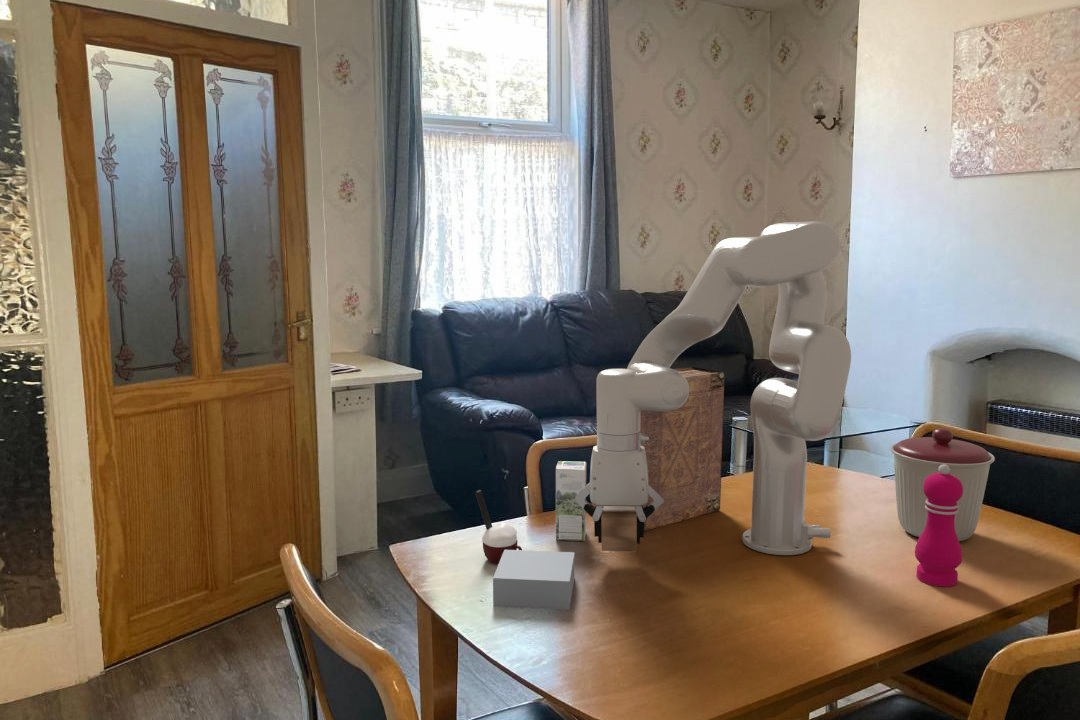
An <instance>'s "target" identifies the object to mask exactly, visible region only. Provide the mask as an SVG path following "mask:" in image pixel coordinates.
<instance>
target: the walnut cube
mask: <svg viewBox="0 0 1080 720" xmlns="http://www.w3.org/2000/svg"><path fill="white" fill-rule="evenodd" d="M601 528H602V542H601V551H603V552H637V551H638V549H637V548H638V547H637V545H638V544H637V514H636V511H635V508H634V506H604V508H603V511H602V516H601Z"/></svg>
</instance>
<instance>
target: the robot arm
mask: <svg viewBox="0 0 1080 720" xmlns="http://www.w3.org/2000/svg"><path fill="white" fill-rule="evenodd" d="M840 251H841V239H840V236H839V234H838V232H837V230H836V229H835V228H834V227H833V226H832V225H830V224H828V223H827V222H823V221H815V220H813V221H811V220H810V221H788V222H787V221H785V222H778V223H774V224H771V225H768V226H767V227H766V228H764V229H763V231H761V233H760V235H759V236H734V237H733V236H732V237H728V238H725V239H722V240H721V241H720V242H718V243H717V244H716V246H714V248H713V249H712V250H711V252H710V254H709V256H708V257H707V259H706V260H705V262H704V264H703V265H702V267H701V268H700V271H699V273H697V275H696V277H695V279H694V281H693V283H692V284H691V285H690V287H689V288H688V290H687V292H686V293H685V296H684V297H683V299H682V300H681V301H680V303H679V304H678V306H677V307H676V308H675V309H674V310H672V312H670V313H669V314H667V316H665V318H664V319H662V321H661V322H659V324H657V325H656V326H655V327H654V328H653V329H652V330H651V331H650V332H649V333H648V334H647V335H646V337H645V338H644V339H643V340H642V342H641V343H640V344H639V346H638V348H637V350H636V351H635V353H634V354H633V356H632V358H631V360H630V361H629V363H628V365H627V368H608V369H605V370H601V371H600V372H599V373H598V374H597V377H596V387H595V388H596V392H595V393H596V445H595V446H593V448H592V452H591V456H590V457H591V458H590V467H589V468H590V471H589V482H588V483H586V486H585V487H584V488H583V489H582V490H581V491H580V492H579V493H578V494H577V495H576V497H575V501H576V502H577V503H578V504H579V505H580V506H581V507H582V508H583V509H584V510H585V511H586V514H588V516H590V517H591V519H592V520H593V521H594V523H593V525H594V529H593V530H594V531H593V532H594V533H593V535H594V537H595V538H597V537H598V538H597V539H598V540H597V542H598V544H602V528H601V513H602V511H603V508H604V506H634V508H635V511H636V513H637V545H640V544H641V538H645V531H644V521H645V520H646V518H648V517H649V516H650V515H651V514H652V513H653V512H654V510H655V509H656V508H658V507H659V506H660V505H661V504H662V503H663V502H664V499H663V497H662V496H661V495H660V494H659V493H658V492H657V491H656V490H655V489H654V488H653V487H652V486H651V485H650V484H649V483H648V466H647V457H646V452H645V448H644V447H643V446H641V444H642V443H645V442H649V434H642V432H640V430H641V411H659V412H668V411H673V410H676V409H678V408H679V407H681V406H682V405H683V404H684V403H685V402H686V400H687V399H688V396H689V384H688V382H687V380H686V379H685V377H684V376H683V375H682V374H681V373H679V372H678V371H676V370H673V369H674V368H671V367H672V365H673V364H674V362H675V361H676V359H677V358H678V357H679V356H680V355H681V354H682V353H684V352H685V351H686V350H687V349H688V348H690V347H692V346H693V345H695V344H697V343H699V342H702V341H704V340H706V339H708V338H711V337H713V336H715V335H716V334H718V333H719V332H720V331H722V330H723V328H724V327H725V325H726V323H727V322H728V320H729V318H730V316H731V315H732V313H733V311H734V310H735V308H736V307H737V305H738V303H739V302H740V299H742V296H743V295H744V294H745V292H746V290H747V288H751V287H752V288H766V287H767V288H768V287H771V286H772V287H773V286H778V287H777V290H778V299H777V306H776V311H775V316H774V319H773V326H772V330H771V336H770V341H769V350H768V355H769V359H770V361H771V363H772V364H773V365H774V366H775V367H776V368H778V369H781V370H782V371H785V372H789V373H792V374H797V375H798V379H797V380H794V379H789V378H783V377H771V378H767V379H766V380H763V381H761V382H760V383H759V384H758V385H757V386H756V387H755V388H754V390H753V393H752V395H751V398H750V408H749V409H750V416H751V417H750V418H751V423H752V428H753V429H752V431H753V470H752V471H753V472H752V495H751V496H752V498H751V521H750V522H751V528H748V529H747V530H745V531H744V532H743V533H742V543H743V544H744V545H745V546H746V547H748V548H749V549H752V550H753V551H757V552H760V553H765V554H768V555H774V556H796V555H802V554H805V553H807V552H809V551H810V550H812V542H813V539H814V538H819V539H829V540H830V538H831V529H830V528H829V527H821V525H820V524H808V523H807V522H806V521H805V511H806V510H805V508H806V504H805V503H806V489H807V488H806V486H807V467H808V449H807V443H806V441H810V442H811V441H813V442H815V441H820V440H823V439H825V438H827V437H828V436H830V434H831V433H832V432H834V429H835V428H836V426H837V424H838V422H839V418H840V416H841V411H842V407H843V403H844V399H845V394H846V388H847V383H848V379H849V374H850V369H851V365H852V364H851V363H852V351H851V346H850V341H849V339H848V338H847V336H846V335H845V334H844V332H842V331H841V329H838V328H837V327H835V326H832V325H829V324H824V323H825V315H826V309H827V302H828V287H827V282H826V280H825V277H824V275H823V271H825V270H826V269H828V268H829V267H830V266H831V265H833V264H834V262H835V261H836V260H837V259H838V257H839V254H840ZM648 494H649V495H650V496H651V497H652V498H653V501H652V502H651V503H649V504H648V505H647V506H646V507H645V508H643V505H645V504H646V503H647V502H648ZM588 495H589V498H590V499H589V500H590V502H589V501H588V500H587V497H588ZM585 498H586V499H585ZM592 504H593V505H592Z"/></svg>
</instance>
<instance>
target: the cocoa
mask: <svg viewBox="0 0 1080 720" xmlns="http://www.w3.org/2000/svg"><path fill="white" fill-rule="evenodd" d="M475 495H476V496H475V497H476V499H477V503H478V506H479V509H480V512H481V516H482V519H483V522H484V526H485V529H486V530H485V531H484V532H483V535H482V537H481V541H482V549H483V553H484V557H486V559H487V560H488V562H490V563H492V564H495V563H496V565H498V564H499V562H500V559H501V557H502V554H503V552H504V550H523V549H522V547H521V546H520V545H518V536H517V533H518V532H517V530H516V528H515V527H514V526H513V525H511V524H509V523H507V522H501V521H500V522H497V523H496V524H495V525H494V526H493V524H492V521H491V518H490V514H489V511H488V508H487V504H486V501H485V497H484V495H483V492H482V490H481V489H479V490H478V489H477V490H476V491H475Z"/></svg>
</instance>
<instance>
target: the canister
mask: <svg viewBox="0 0 1080 720" xmlns="http://www.w3.org/2000/svg"><path fill="white" fill-rule="evenodd" d="M931 435H932V436H931V437H927V436H925V437H924V436H922V437H920V436H919V437H911V438H910V437H909V438H905V439H902V440H900V441H898V442H896V443H894V444H892V445H891V446H890V448H889V449H890V452H891V453H892V454H893V465H894V466H893V468H894V481H895V482H894V487H895V498H896V499H895V500H896V509H897V510H896V512H897V517H898V522H899V524H900V526H901V528H902V529H903V530H904V531H905V532H906V533H908V534H910V535H912V536H914V537H917V538H918V539H919V538H920V536H921V534H922V533H923V531H924V529H925V526H926V523H927V517H928V516H927V510H926V509H925V505H926V503H925V501H926V500H927V499H928V498H927V497H926V495H925V494H924V491H923V484H924V481H925V479H926V478H927V477H928V476H930V475H931V474H934V473H939V471H938V468H939V466H940V465H943V464H945V465H948V466H949V468H950V473H949V474H951V475H953V476H955V477H957V478H958V479H959V480H960V481H961V483H962V486H963V495H962V497H961V498H960V499H959V500H958V501H957V503H958V505H959V507H958V513H956V514H955V519H954V524H955V532H956V535H957V538H958V541H959V542H963V541H967V540H968V539H969V538H971V537H972V536H973V535H974V533H975V531H976V529H977V526H978V523H979V519H980V515H981V510H982V505H983V502H984V501H983V500H984V497H985V491H986V486H987V482H988V478H989V471H990V467H991V465H992V463H994V461H996V460H995V459H996V458H995V456H994V455H993V454H992V453H991V452H989V451H987V450H986V449H985V448H983V447H982V446H979V445H977V444H974V443H972V442H968V441H964V440H959V439H953V437H954V435H953V432H952V431H951V430H950V429H948V428H944V427H939V428H936V429H934V430H933V431H932V433H931Z"/></svg>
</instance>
